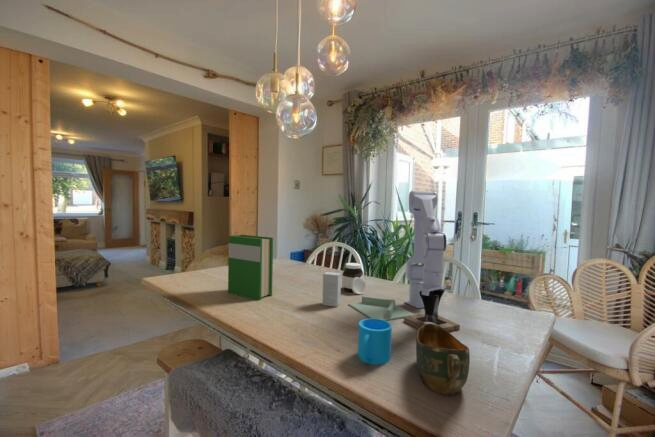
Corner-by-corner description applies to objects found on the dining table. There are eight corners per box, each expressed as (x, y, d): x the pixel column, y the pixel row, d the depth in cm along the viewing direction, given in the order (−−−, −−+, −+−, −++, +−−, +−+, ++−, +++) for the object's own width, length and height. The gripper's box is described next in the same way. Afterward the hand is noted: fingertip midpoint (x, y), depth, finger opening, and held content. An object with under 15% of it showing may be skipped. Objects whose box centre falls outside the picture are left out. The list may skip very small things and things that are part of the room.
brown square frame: (431, 316, 106) (431, 312, 106) (459, 329, 95) (459, 324, 95) (403, 321, 101) (404, 316, 101) (430, 335, 90) (430, 330, 90)
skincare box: (340, 303, 117) (341, 273, 116) (337, 307, 113) (338, 275, 112) (325, 301, 119) (326, 271, 118) (321, 305, 115) (322, 273, 114)
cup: (393, 389, 63) (395, 341, 62) (422, 352, 79) (424, 314, 79) (460, 415, 56) (463, 360, 55) (476, 369, 72) (479, 327, 72)
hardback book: (272, 295, 125) (273, 237, 124) (259, 300, 119) (260, 239, 118) (241, 288, 134) (242, 234, 133) (228, 292, 128) (228, 235, 127)
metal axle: (431, 317, 100) (432, 293, 100) (440, 321, 97) (441, 296, 96) (421, 318, 99) (422, 294, 98) (430, 323, 95) (431, 297, 95)
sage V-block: (382, 300, 123) (383, 292, 123) (415, 315, 106) (415, 307, 106) (348, 304, 116) (348, 296, 116) (376, 322, 99) (377, 313, 99)
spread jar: (351, 286, 144) (351, 261, 143) (372, 290, 137) (373, 264, 136) (336, 291, 134) (337, 265, 133) (359, 296, 127) (360, 269, 127)
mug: (365, 345, 82) (366, 316, 82) (395, 354, 78) (396, 322, 78) (345, 365, 72) (346, 331, 72) (377, 375, 68) (378, 339, 67)
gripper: (427, 265, 105) (426, 304, 106) (412, 272, 94) (410, 315, 94) (449, 268, 101) (447, 308, 102) (435, 276, 89) (434, 321, 90)
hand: (431, 312), depth 98 cm, fingers closed on metal axle, 4 cm apart
